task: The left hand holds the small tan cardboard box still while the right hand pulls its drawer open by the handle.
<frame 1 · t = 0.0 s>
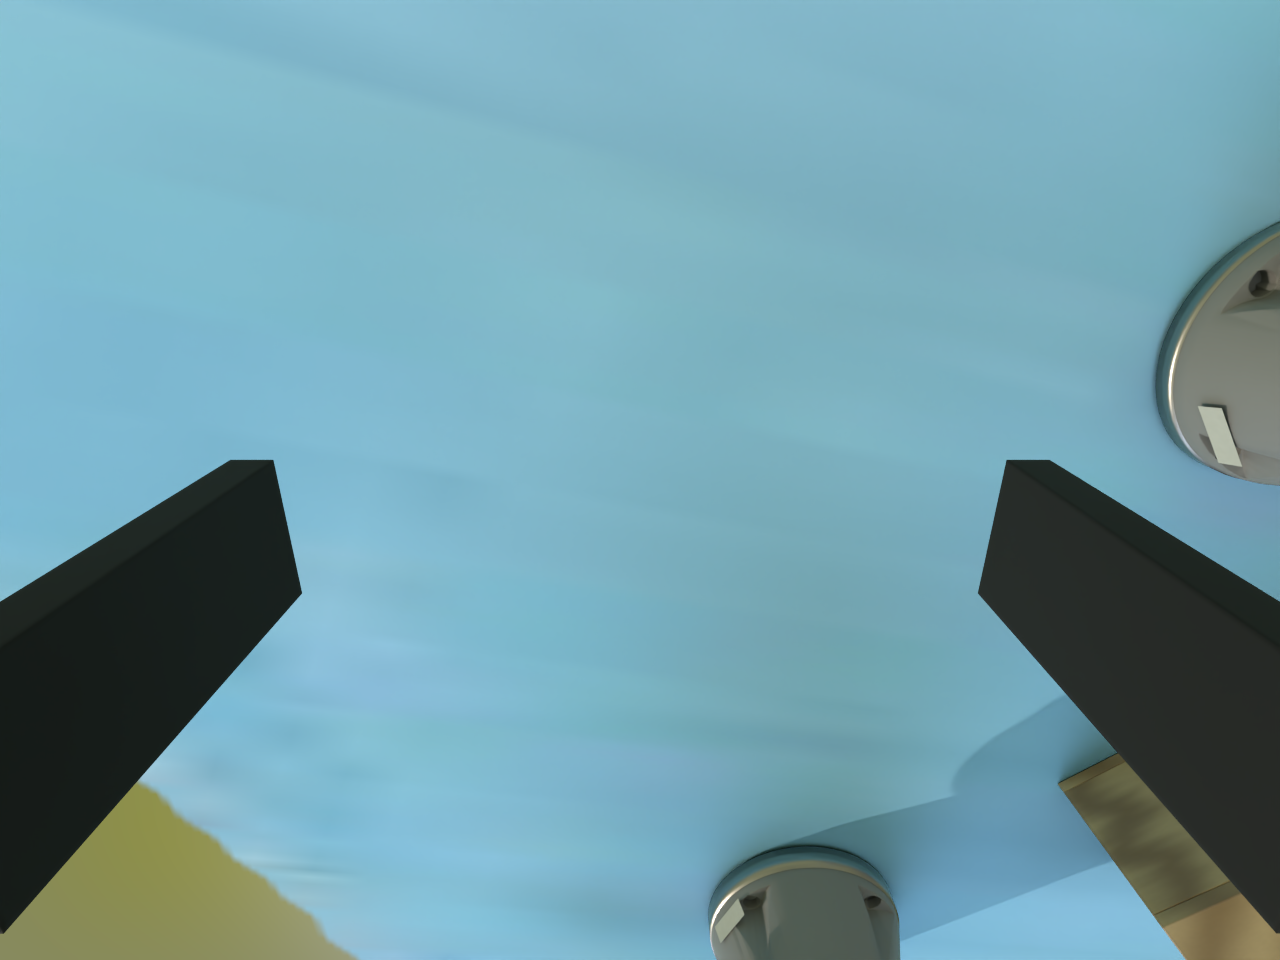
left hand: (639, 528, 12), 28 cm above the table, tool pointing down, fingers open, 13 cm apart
tan cardboard box: (1195, 769, 51), on the table
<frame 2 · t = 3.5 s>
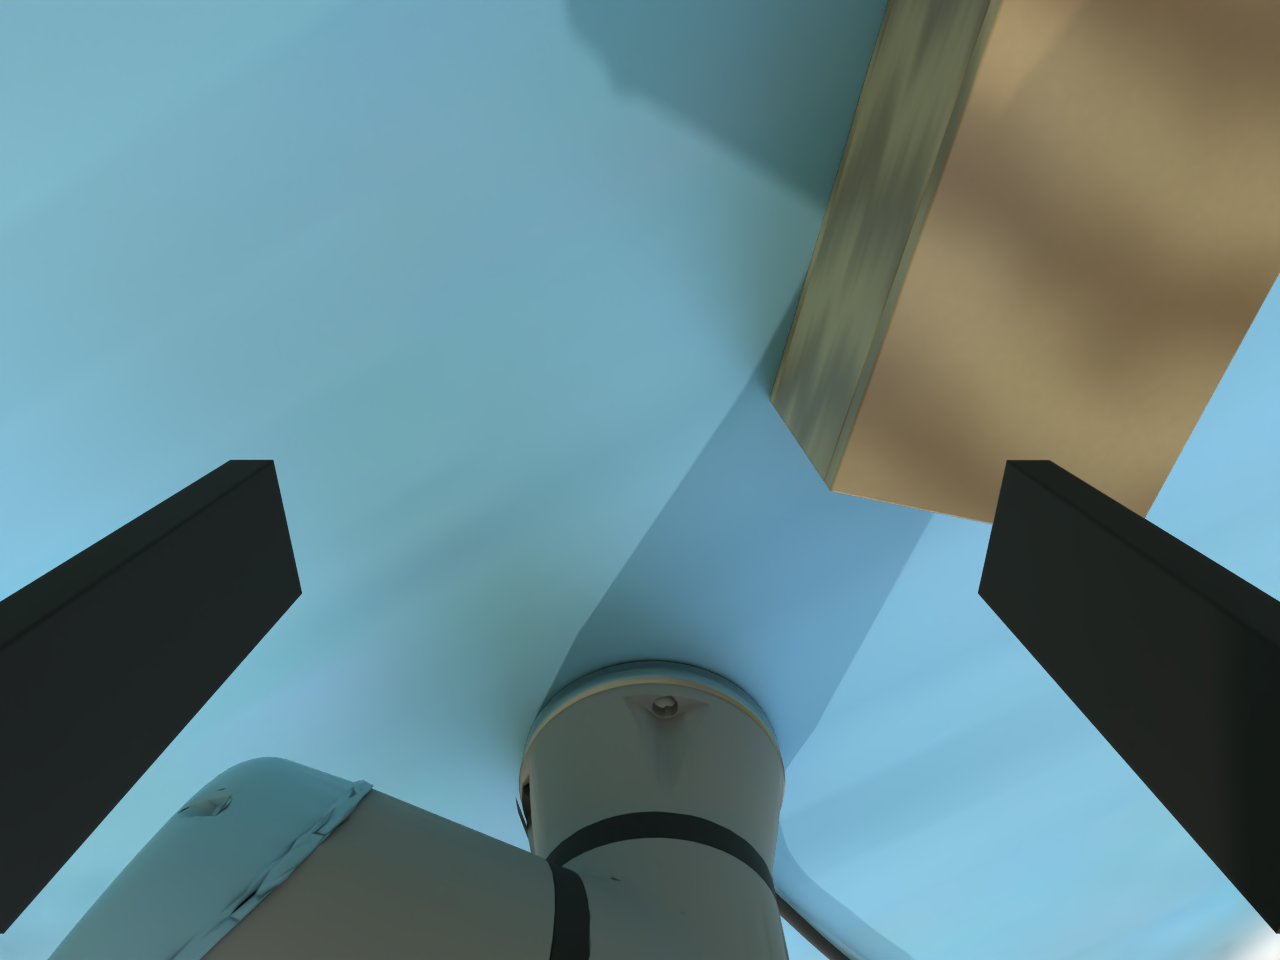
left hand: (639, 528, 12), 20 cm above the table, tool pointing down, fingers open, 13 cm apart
tan cardboard box: (941, 233, 29), on the table
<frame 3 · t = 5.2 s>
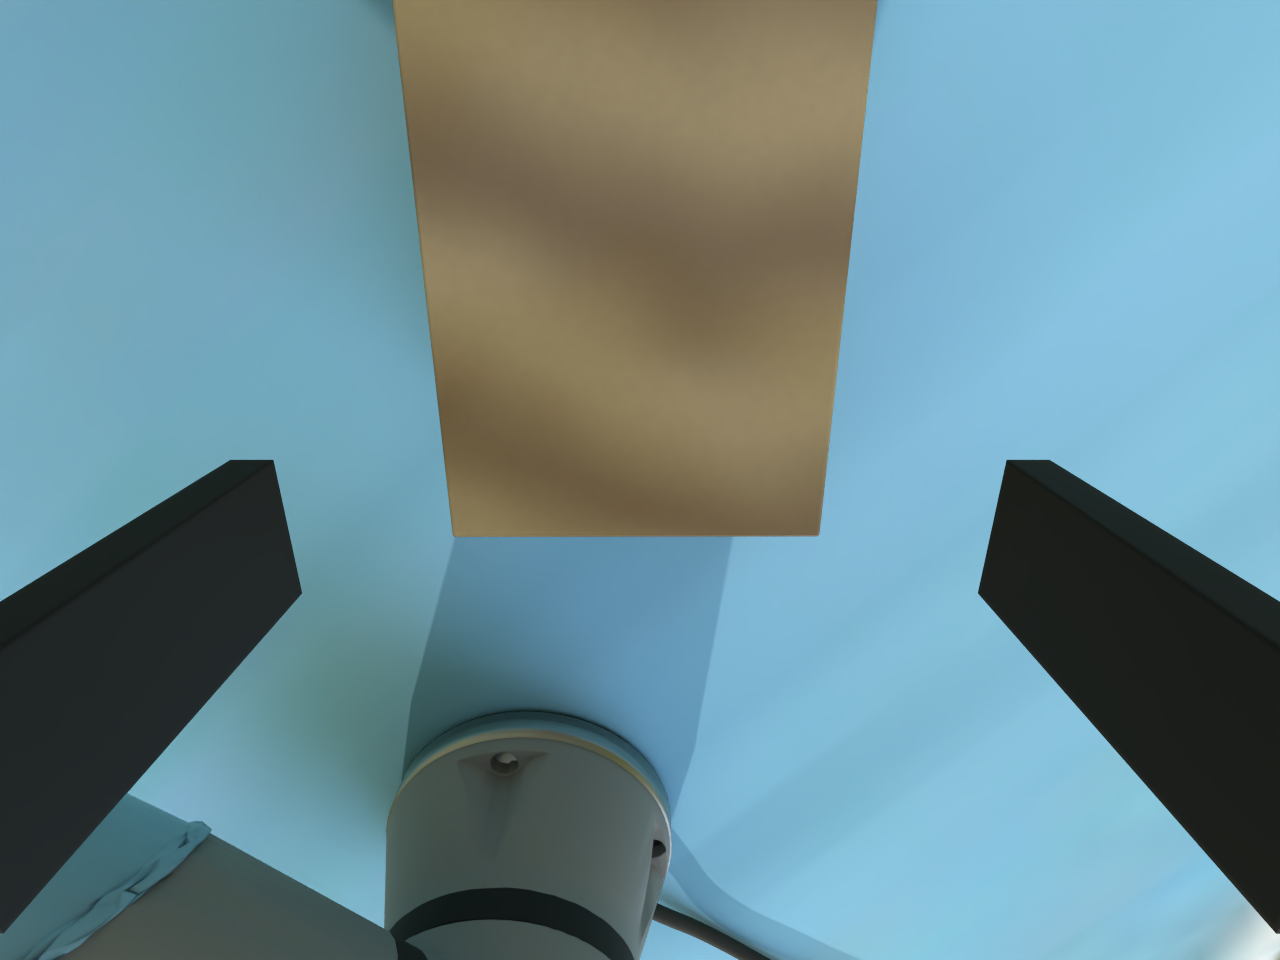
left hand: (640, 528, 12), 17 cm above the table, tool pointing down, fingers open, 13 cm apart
tan cardboard box: (636, 207, 26), on the table
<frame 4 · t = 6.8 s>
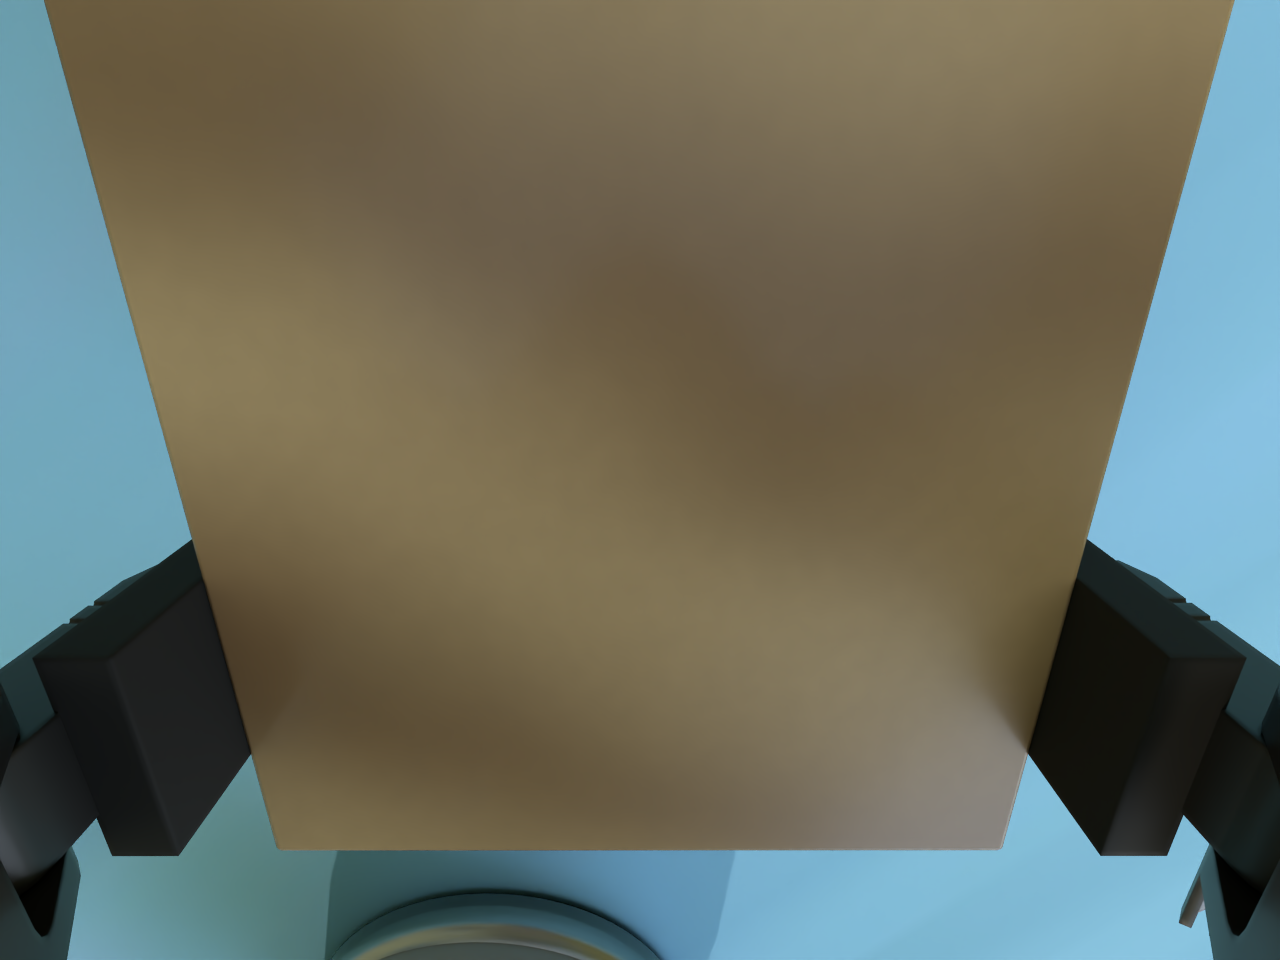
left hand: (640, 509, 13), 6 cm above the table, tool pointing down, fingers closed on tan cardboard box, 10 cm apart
tan cardboard box: (639, 200, 17), on the table, touching left hand
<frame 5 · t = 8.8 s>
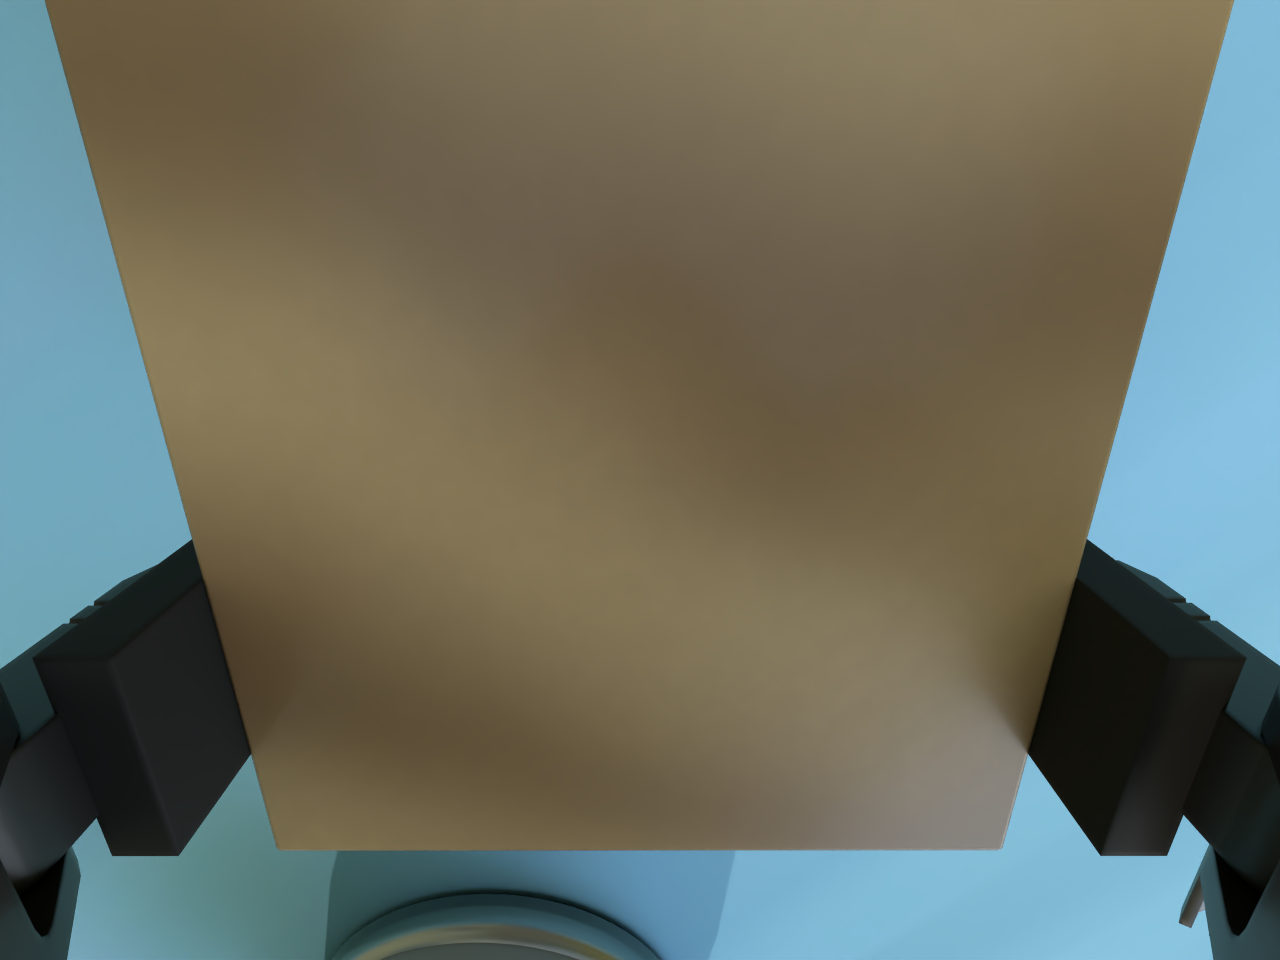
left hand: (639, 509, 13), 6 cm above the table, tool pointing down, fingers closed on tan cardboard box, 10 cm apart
tan cardboard box: (639, 201, 17), on the table, touching left hand
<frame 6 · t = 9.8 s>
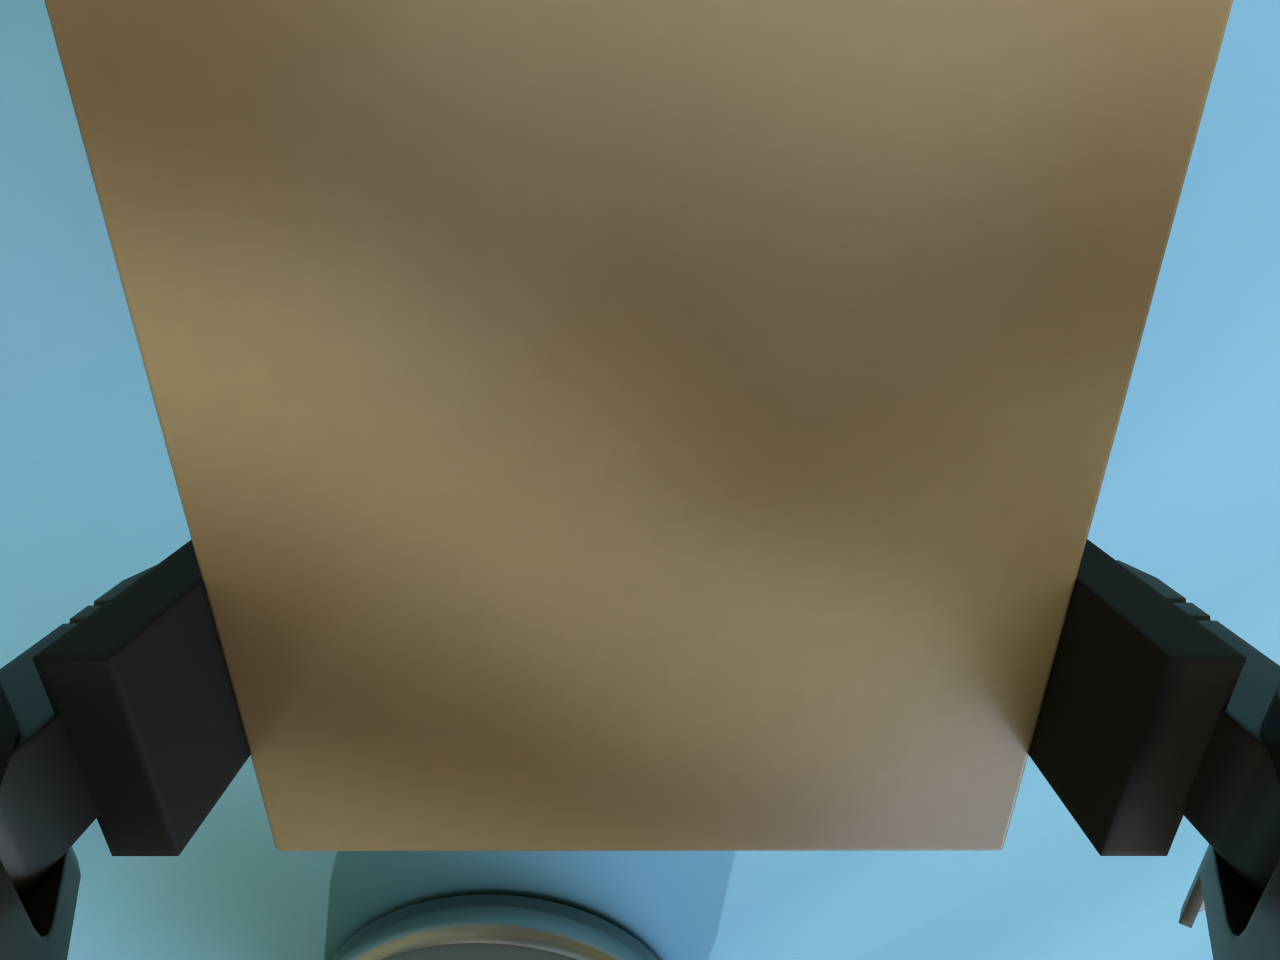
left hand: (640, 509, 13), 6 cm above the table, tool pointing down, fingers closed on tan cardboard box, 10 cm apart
tan cardboard box: (639, 201, 17), on the table, touching left hand
when the left hand's fingers open (6 cm above the table, at t = 11.5 s): tan cardboard box stays where it is, on the table.
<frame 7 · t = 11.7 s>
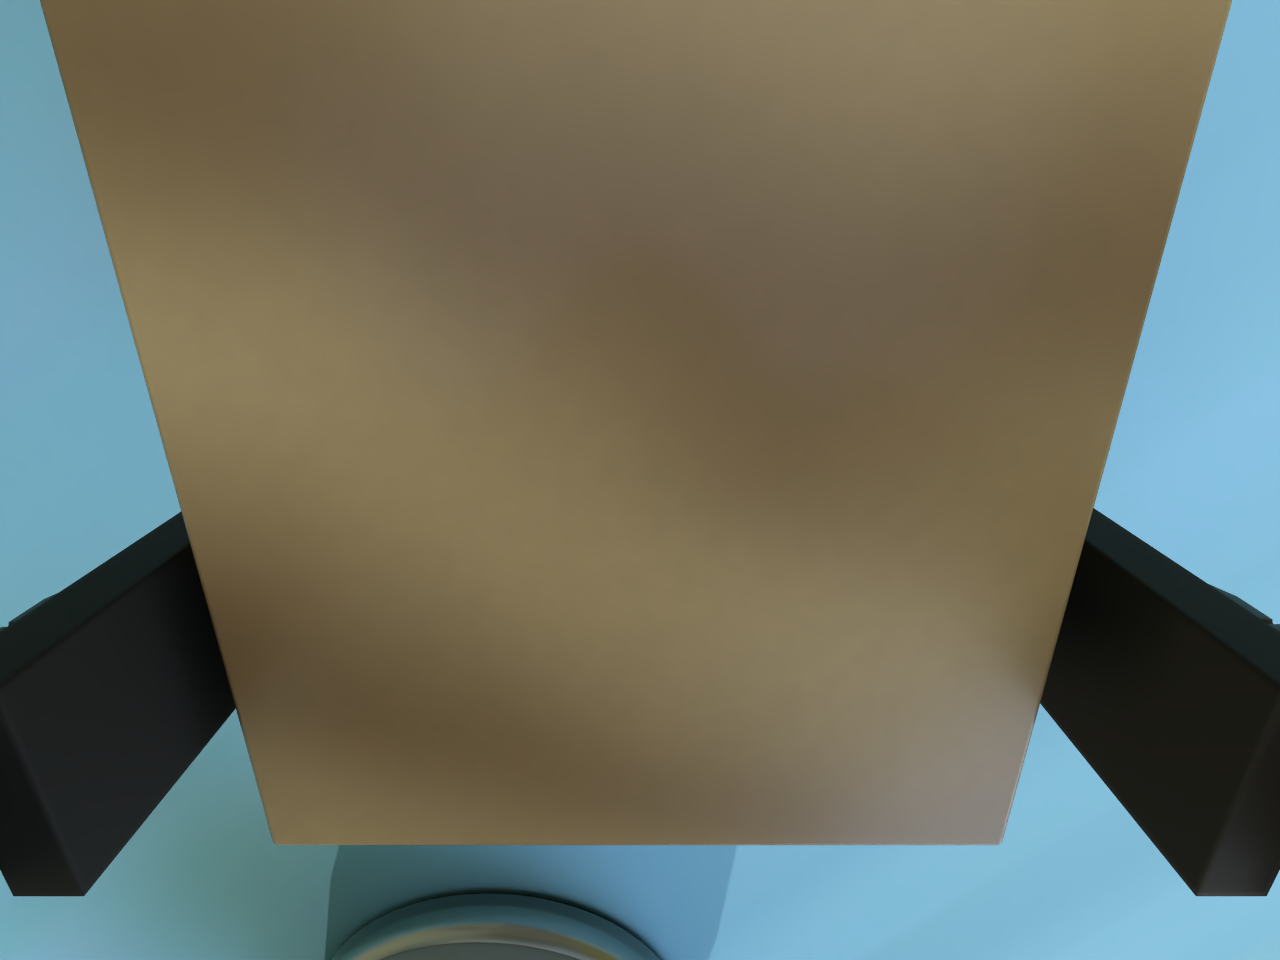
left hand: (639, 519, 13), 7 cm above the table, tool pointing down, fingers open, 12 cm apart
tan cardboard box: (638, 195, 17), on the table
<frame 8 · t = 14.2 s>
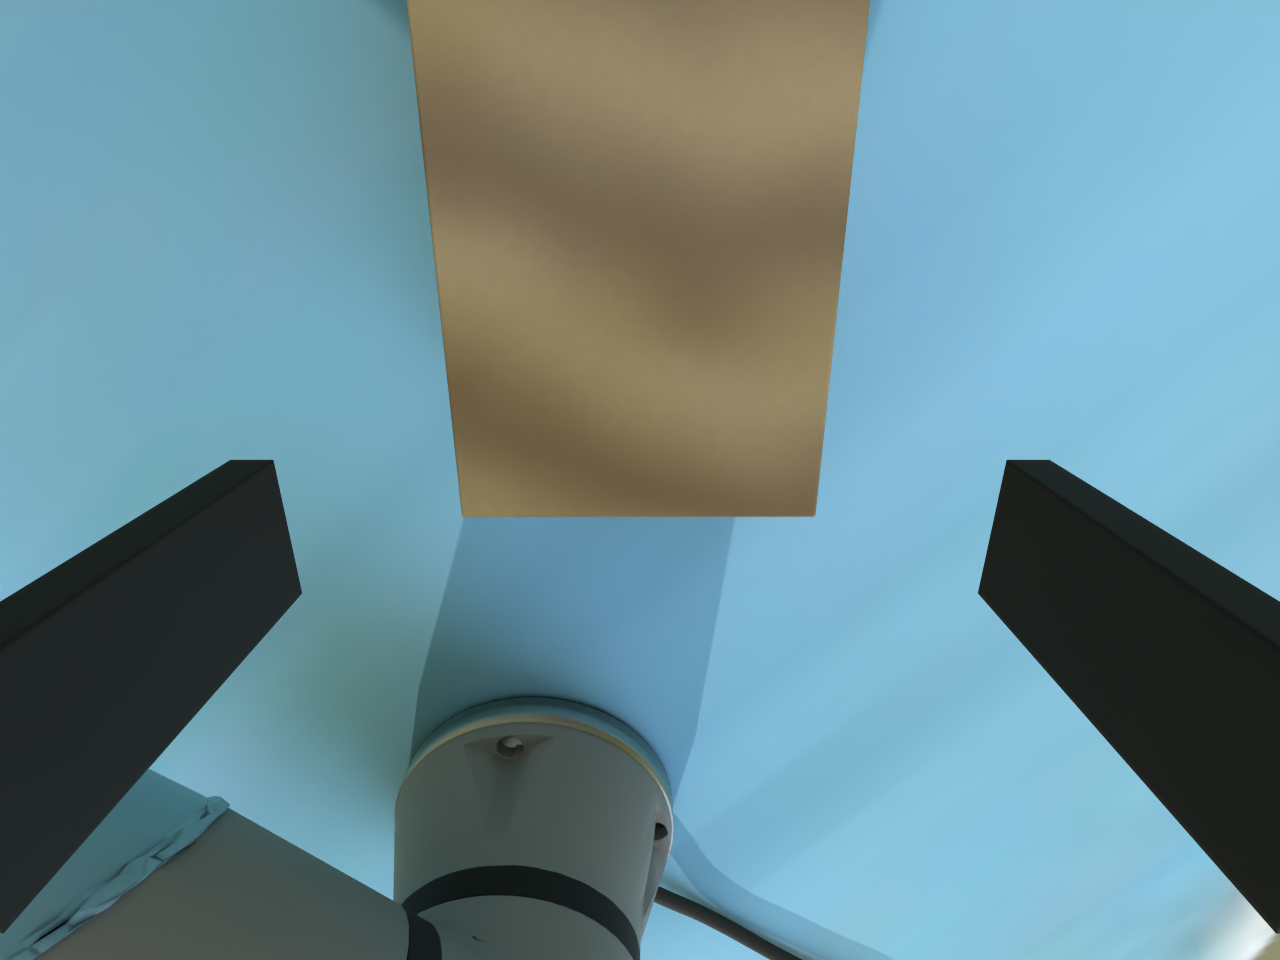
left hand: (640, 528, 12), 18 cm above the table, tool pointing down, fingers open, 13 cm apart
tan cardboard box: (639, 200, 27), on the table
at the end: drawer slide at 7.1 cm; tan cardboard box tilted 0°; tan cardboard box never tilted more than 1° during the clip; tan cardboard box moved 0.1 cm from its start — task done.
